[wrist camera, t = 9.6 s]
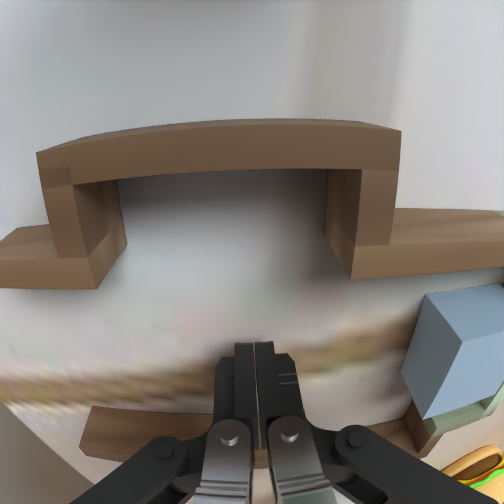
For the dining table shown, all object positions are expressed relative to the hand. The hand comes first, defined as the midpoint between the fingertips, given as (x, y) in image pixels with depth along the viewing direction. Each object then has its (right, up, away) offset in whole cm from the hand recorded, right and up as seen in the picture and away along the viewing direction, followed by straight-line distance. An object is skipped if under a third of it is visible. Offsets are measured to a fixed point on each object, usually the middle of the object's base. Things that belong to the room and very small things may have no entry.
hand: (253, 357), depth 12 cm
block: (+10, 0, +2) cm, 10 cm away
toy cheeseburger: (+25, -22, +13) cm, 36 cm away
